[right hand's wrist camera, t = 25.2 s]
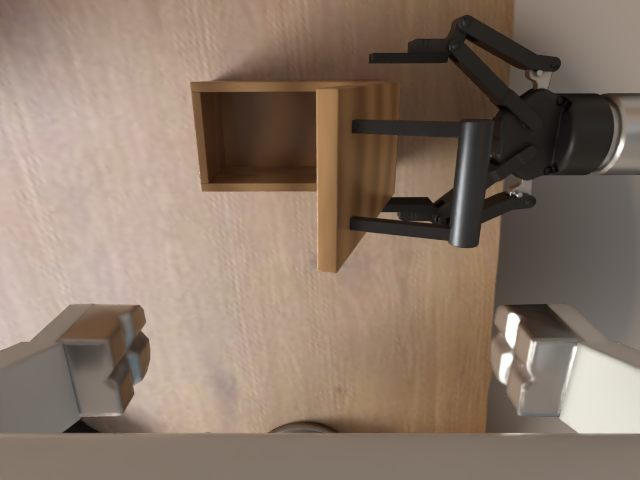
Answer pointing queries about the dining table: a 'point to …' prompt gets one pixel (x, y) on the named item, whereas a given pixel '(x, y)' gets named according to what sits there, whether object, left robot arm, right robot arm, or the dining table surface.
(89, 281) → the dining table surface
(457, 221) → the lid
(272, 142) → the chest
